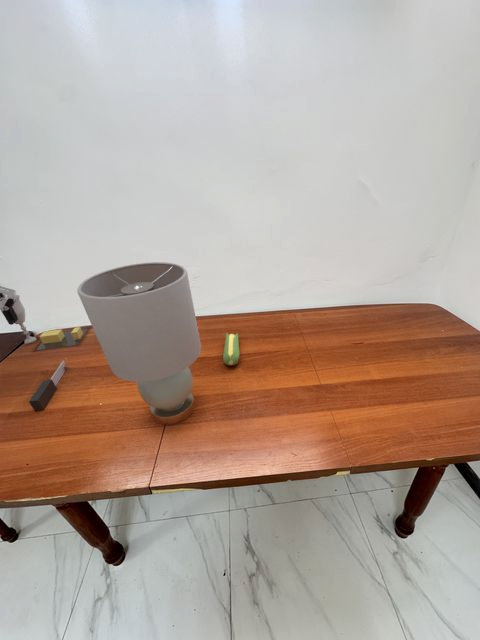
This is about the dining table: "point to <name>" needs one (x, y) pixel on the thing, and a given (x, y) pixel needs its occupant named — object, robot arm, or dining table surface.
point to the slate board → (66, 341)
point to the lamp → (147, 332)
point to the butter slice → (77, 333)
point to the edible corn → (231, 349)
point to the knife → (47, 390)
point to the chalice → (21, 318)
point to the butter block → (52, 336)
